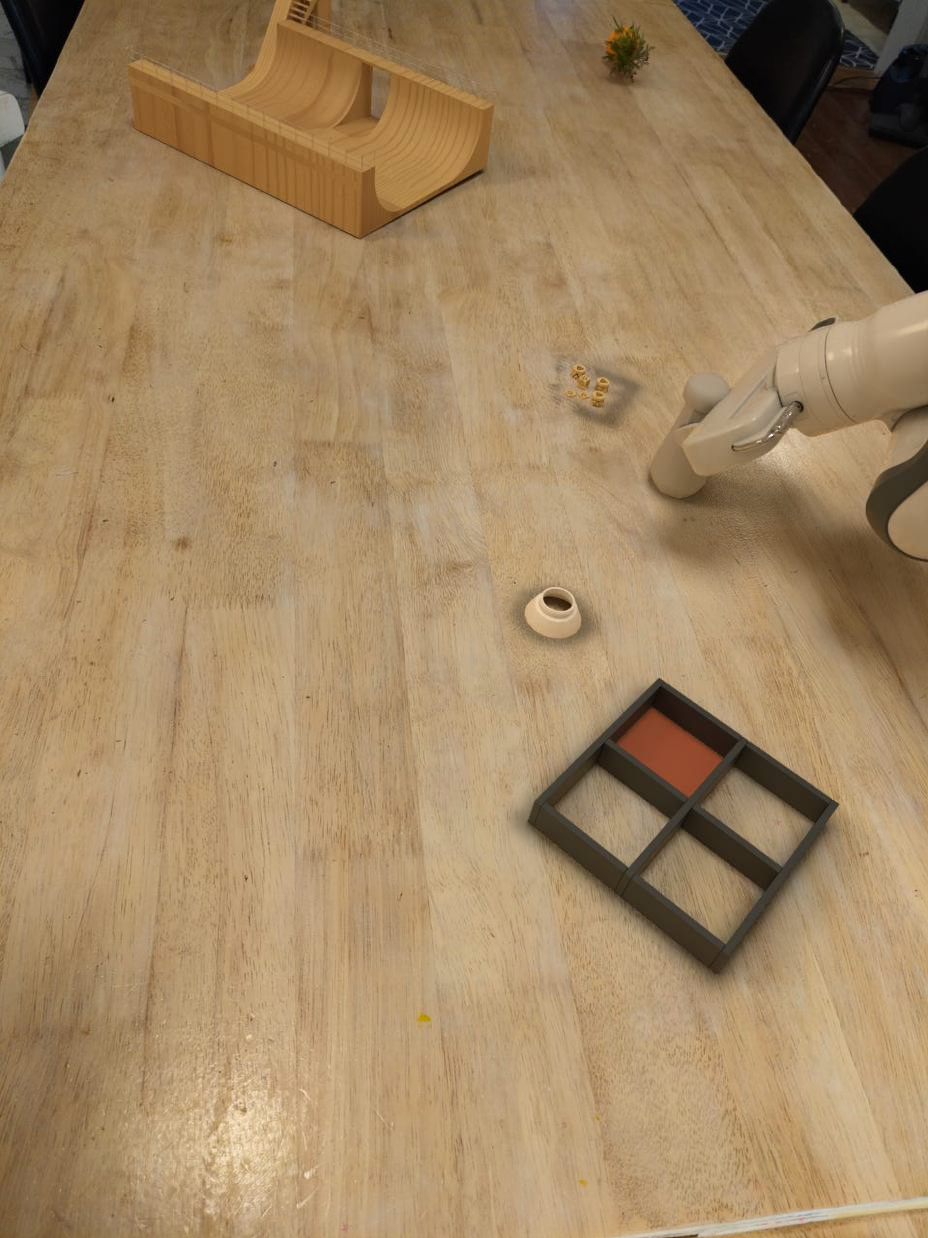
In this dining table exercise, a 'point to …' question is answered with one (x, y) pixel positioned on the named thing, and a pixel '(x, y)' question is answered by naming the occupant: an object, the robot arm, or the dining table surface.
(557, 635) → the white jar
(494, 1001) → the dining table surface
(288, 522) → the dining table surface
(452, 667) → the dining table surface
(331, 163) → the skate ramp
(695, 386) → the beige game pawn
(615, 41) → the christmas decoration
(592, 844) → the grid
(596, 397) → the golden ring cluster
